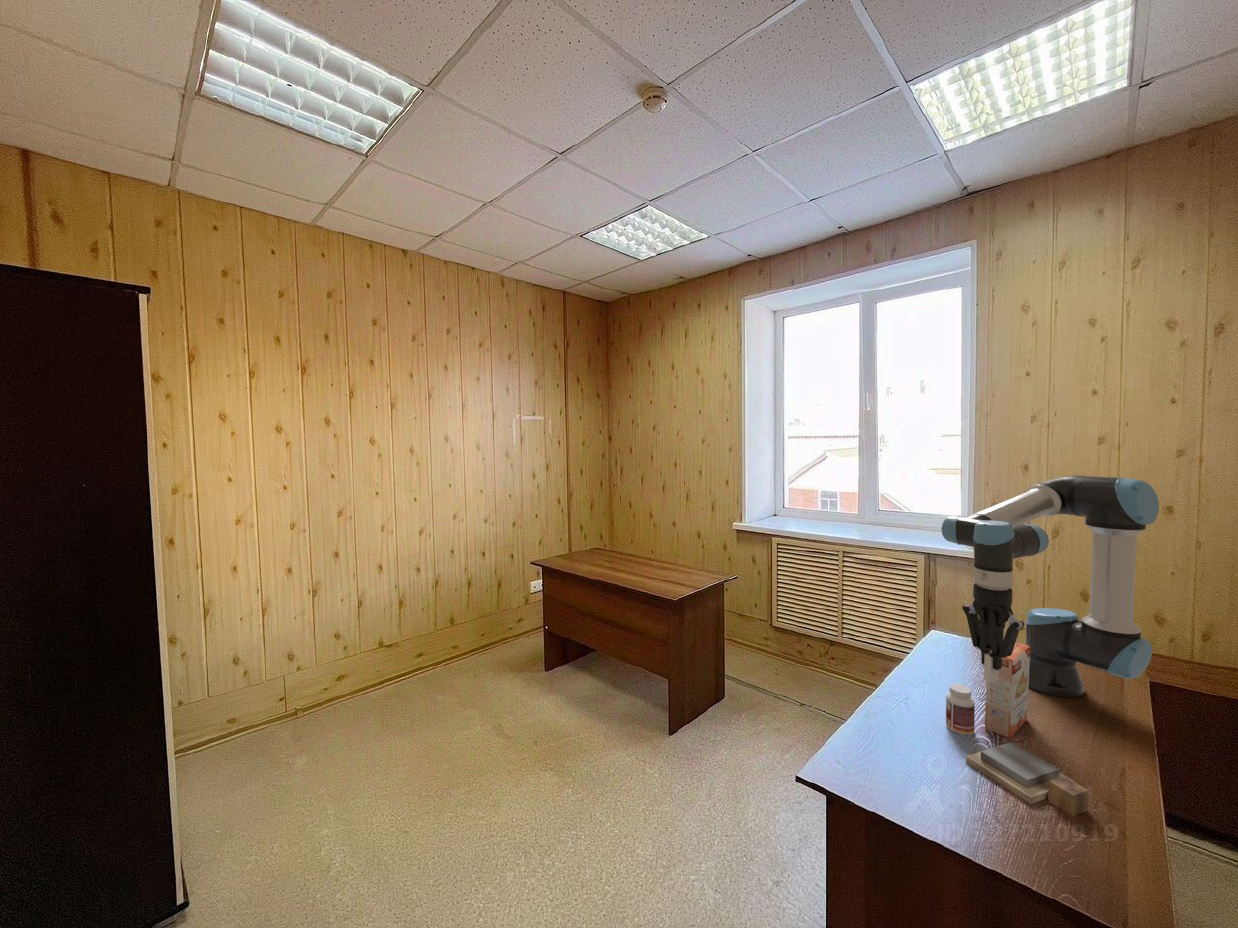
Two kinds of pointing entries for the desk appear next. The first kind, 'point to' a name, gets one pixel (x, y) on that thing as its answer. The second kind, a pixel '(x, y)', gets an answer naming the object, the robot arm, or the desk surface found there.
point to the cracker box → (1009, 694)
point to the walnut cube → (1068, 795)
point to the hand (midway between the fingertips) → (991, 679)
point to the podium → (1016, 770)
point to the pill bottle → (960, 710)
